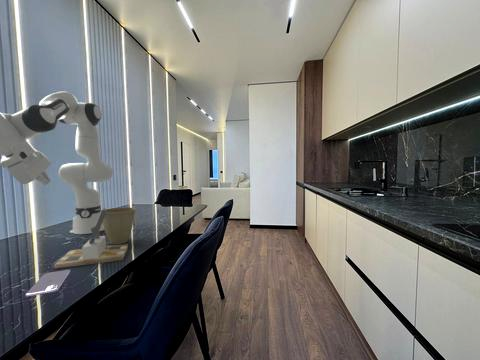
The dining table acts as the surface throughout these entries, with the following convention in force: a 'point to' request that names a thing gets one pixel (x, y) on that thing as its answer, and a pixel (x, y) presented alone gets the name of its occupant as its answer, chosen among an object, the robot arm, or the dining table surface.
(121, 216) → the plant pot
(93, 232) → the main switch
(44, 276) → the mobile phone
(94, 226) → the aux switch
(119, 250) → the base
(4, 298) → the dining table surface
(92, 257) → the switch housing
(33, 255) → the dining table surface
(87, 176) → the robot arm
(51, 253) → the dining table surface
